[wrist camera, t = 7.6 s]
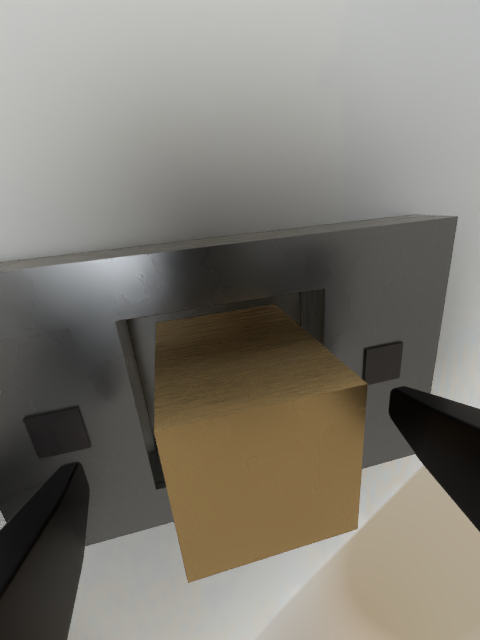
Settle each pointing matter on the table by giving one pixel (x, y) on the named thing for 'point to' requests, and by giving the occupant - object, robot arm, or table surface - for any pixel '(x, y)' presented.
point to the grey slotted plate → (190, 293)
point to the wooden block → (255, 437)
